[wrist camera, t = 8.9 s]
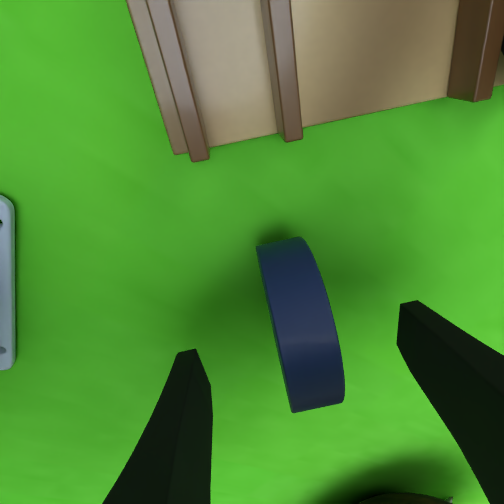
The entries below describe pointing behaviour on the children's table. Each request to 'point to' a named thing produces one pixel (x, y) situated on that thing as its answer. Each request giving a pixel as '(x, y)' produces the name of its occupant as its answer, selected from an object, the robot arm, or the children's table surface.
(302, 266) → the navy disc
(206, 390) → the robot arm
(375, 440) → the children's table surface
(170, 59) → the disc rack
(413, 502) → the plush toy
